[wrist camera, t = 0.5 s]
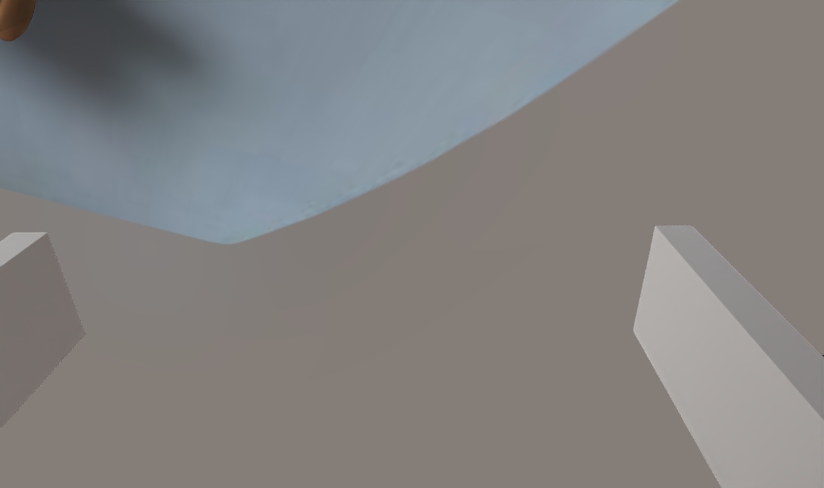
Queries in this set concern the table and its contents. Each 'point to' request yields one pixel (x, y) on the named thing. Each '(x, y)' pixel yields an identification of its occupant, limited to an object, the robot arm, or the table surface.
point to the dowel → (15, 17)
